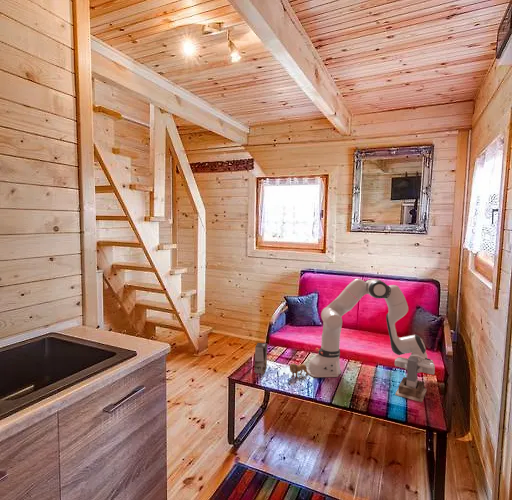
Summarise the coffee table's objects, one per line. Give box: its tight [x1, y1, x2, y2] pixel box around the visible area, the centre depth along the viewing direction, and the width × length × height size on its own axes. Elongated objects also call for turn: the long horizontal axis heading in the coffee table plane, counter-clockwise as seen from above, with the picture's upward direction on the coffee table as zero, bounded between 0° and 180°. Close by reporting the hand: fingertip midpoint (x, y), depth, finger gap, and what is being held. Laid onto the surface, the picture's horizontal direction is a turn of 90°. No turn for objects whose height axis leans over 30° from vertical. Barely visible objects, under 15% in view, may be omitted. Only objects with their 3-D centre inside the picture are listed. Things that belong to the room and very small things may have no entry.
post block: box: [394, 376, 428, 403], centre depth 179 cm, size 13×16×5 cm
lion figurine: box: [289, 362, 309, 379], centre depth 197 cm, size 15×5×9 cm, turn 130°
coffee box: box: [254, 342, 268, 374], centre depth 204 cm, size 9×6×16 cm
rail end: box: [406, 355, 418, 388], centre depth 179 cm, size 4×7×15 cm, turn 146°
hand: (412, 370), depth 178 cm, fingers closed on rail end, 4 cm apart
